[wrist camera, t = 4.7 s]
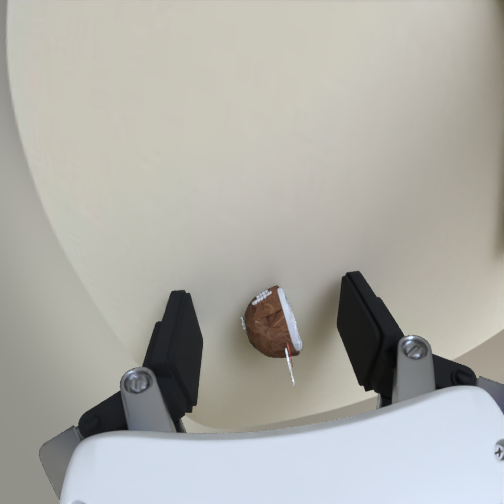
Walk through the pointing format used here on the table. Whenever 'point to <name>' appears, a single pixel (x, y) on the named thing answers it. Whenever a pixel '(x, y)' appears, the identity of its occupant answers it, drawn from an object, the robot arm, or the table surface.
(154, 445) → the robot arm
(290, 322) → the brown coconut half
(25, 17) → the table surface
